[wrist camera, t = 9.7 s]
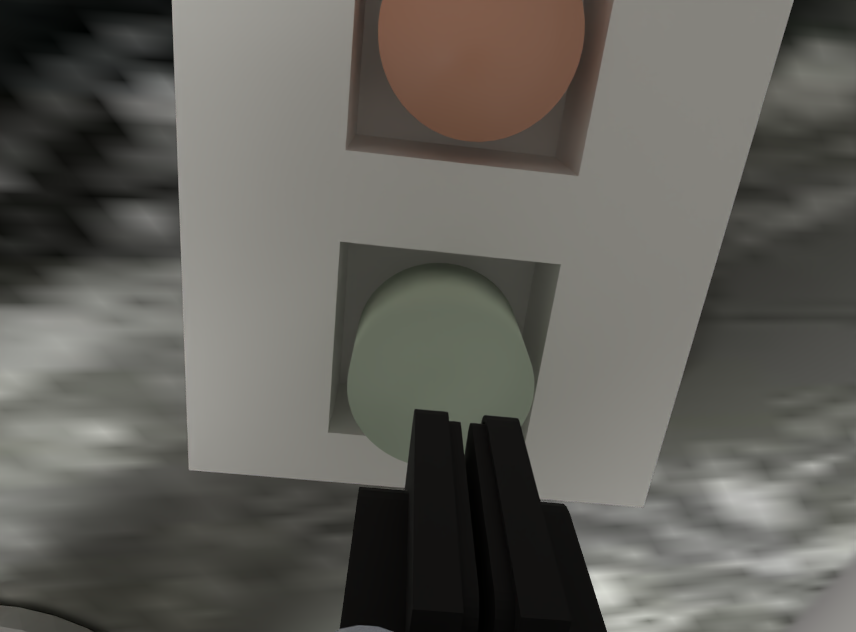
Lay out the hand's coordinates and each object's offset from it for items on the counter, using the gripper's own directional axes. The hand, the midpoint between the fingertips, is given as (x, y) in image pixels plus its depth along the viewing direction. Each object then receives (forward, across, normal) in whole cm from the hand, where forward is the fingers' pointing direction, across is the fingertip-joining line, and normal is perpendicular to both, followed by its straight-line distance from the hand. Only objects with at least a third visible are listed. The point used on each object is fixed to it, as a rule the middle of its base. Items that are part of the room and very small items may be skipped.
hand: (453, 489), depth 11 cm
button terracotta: (+8, 0, -7) cm, 10 cm away
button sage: (+6, 0, 0) cm, 6 cm away
